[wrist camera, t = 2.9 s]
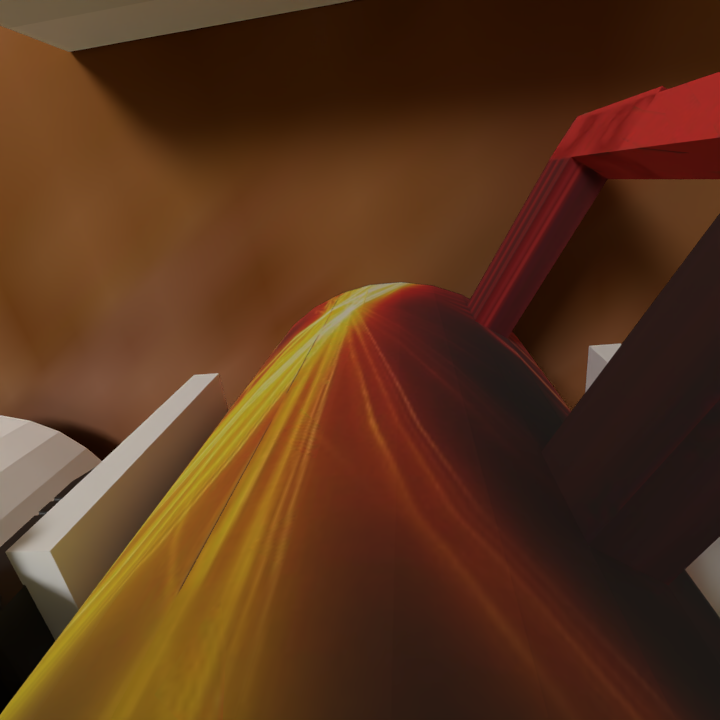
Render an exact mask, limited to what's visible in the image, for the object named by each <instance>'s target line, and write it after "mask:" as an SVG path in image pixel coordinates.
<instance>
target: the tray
mask: <svg viewBox="0 0 720 720" xmlns="http://www.w3.org/2000/svg"><path fill="white" fill-rule="evenodd" d="M348 1H354V0H0V26H3V27H5V28H8V29H10V30H13V31H16V32H18V33H21V34H24V35H26V36H29V37H32V38H34V39H37V40H39V41H42V42H45V43H47V44H50V45H53V46H55V47H58V48H60V49H63V50H66V51H68V52H71V51H77V50H82V49H88V48H93V47H99V46H104V45H110V44H115V43H121V42H126V41H132V40H137V39H143V38H149V37H154V36H160V35H165V34H171V33H176V32H182V31H187V30H193V29H198V28H204V27H210V26H215V25H221V24H226V23H232V22H237V21H243V20H248V19H254V18H259V17H265V16H271V15H276V14H282V13H287V12H293V11H298V10H304V9H309V8H315V7H320V6H326V5H331V4H337V3H343V2H348Z"/></svg>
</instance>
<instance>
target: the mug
mask: <svg viewBox="0 0 720 720" xmlns="http://www.w3.org/2000/svg"><path fill="white" fill-rule="evenodd" d="M607 179H720V72H717V73H714V74H711V75H708V76H705V77H702V78H699V79H697V80H694V81H691V82H688V83H685V84H682V85H679V86H676V87H673V88H670V89H666V88H665V87H663V86H661V87H658V88H655V89H653V90H650V91H647V92H644V93H641V94H639V95H636V96H633V97H630V98H627V99H625V100H622V101H619V102H616V103H613V104H611V105H608V106H605V107H602V108H599V109H597V110H594V111H591V112H588V113H585V114H583V115H580V116H577V117H576V119H575V121H573V123H572V125H571V126H570V128H569V129H568V131H567V133H566V134H565V136H564V137H563V139H562V140H561V142H560V144H559V145H558V147H557V148H556V150H555V151H554V153H553V155H552V156H551V158H550V159H549V162H548V163H547V165H546V167H545V169H544V170H543V172H542V174H541V176H540V177H539V179H538V181H537V183H536V185H535V186H534V188H533V190H532V192H531V193H530V195H529V197H528V199H527V200H526V202H525V204H524V206H523V207H522V209H521V211H520V213H519V214H518V216H517V218H516V220H515V221H514V223H513V225H512V227H511V229H510V230H509V232H508V234H507V236H506V237H505V239H504V241H503V243H502V244H501V246H500V248H499V250H498V251H497V253H496V255H495V257H494V258H493V260H492V262H491V264H490V265H489V267H488V269H487V271H486V272H485V274H484V276H483V278H482V280H481V281H480V283H479V285H478V287H477V288H476V290H475V292H474V294H473V295H472V297H471V299H469V298H467V297H465V296H463V295H461V294H458V293H455V292H451V291H448V290H445V289H442V288H439V287H435V286H432V285H423V284H413V283H404V282H398V283H387V284H376V285H368V286H365V287H362V288H358V289H355V290H351V291H348V292H344V293H341V294H339V295H337V296H335V297H333V298H332V299H330V300H328V301H326V302H324V303H322V304H320V305H318V306H316V307H315V308H314V309H312V310H311V311H310V312H309V313H308V314H306V315H305V316H304V317H303V318H302V319H300V320H299V321H298V322H297V323H296V324H294V325H293V327H292V328H291V329H290V330H289V332H288V333H287V334H286V336H285V337H284V338H283V339H282V341H281V342H280V343H279V345H278V346H277V347H276V348H275V350H274V351H273V352H272V354H271V355H270V356H269V358H268V359H267V360H266V362H265V363H264V364H263V366H262V367H261V368H260V370H259V371H258V372H257V374H256V375H255V376H254V378H253V379H252V380H251V382H250V383H249V384H248V386H247V387H246V388H245V390H244V391H243V392H242V394H241V395H240V396H239V398H238V399H237V400H236V402H235V403H234V404H233V406H232V407H231V408H230V410H229V411H228V412H227V414H226V415H225V416H224V418H223V419H222V420H221V422H220V423H219V424H218V426H217V427H216V428H215V430H214V431H213V432H212V434H211V435H210V436H209V438H208V439H207V440H206V442H205V443H204V444H203V446H202V447H201V448H200V450H199V451H198V452H197V454H196V455H195V456H194V458H193V459H192V460H191V461H190V463H189V464H188V465H187V467H186V468H185V469H184V471H183V472H182V473H181V475H180V476H179V477H178V479H177V480H176V481H175V483H174V484H173V485H172V487H171V488H170V489H169V491H168V492H167V493H166V495H165V496H164V497H163V499H162V500H161V501H160V503H159V504H158V505H157V507H156V508H155V509H154V511H153V512H152V513H151V515H150V516H149V517H148V519H147V520H146V521H145V523H144V524H143V525H142V527H141V528H140V529H139V531H138V532H137V533H136V535H135V536H134V537H133V539H132V540H131V541H130V543H129V544H128V545H127V547H126V548H125V549H124V551H123V552H122V553H121V555H120V556H119V557H118V559H117V560H116V561H115V563H114V564H113V565H112V567H111V568H110V569H109V571H108V572H107V573H106V575H105V576H104V577H103V578H102V580H101V581H100V582H99V584H98V585H97V586H96V588H95V589H94V590H93V592H92V593H91V594H90V596H89V597H88V598H87V600H86V601H85V602H84V604H83V605H82V606H81V608H80V609H79V610H78V612H77V613H76V614H75V616H74V617H73V618H72V620H71V621H70V622H69V624H68V625H67V626H66V628H65V629H64V630H63V632H62V633H61V634H60V636H59V637H58V638H57V640H56V641H55V642H54V644H53V645H52V646H51V648H50V649H49V650H48V652H47V653H46V654H45V656H44V657H43V658H42V660H41V661H40V662H39V664H38V665H37V666H36V668H35V669H34V670H33V672H32V673H31V674H30V676H29V677H28V678H27V680H26V681H25V682H24V684H23V685H22V686H21V688H20V689H19V690H18V691H17V693H16V694H15V695H14V697H13V698H12V699H11V701H10V702H9V703H8V705H7V706H6V707H5V709H4V710H3V711H2V713H1V714H0V720H720V617H719V616H718V614H717V613H716V612H715V610H714V609H713V607H712V606H711V605H710V603H709V602H708V600H707V599H706V598H705V596H704V595H703V594H702V592H701V591H700V589H699V588H698V587H697V585H696V584H695V582H694V581H693V580H692V578H691V577H690V576H689V574H688V573H687V571H686V570H685V569H686V568H687V567H688V566H689V565H690V564H691V563H692V562H693V561H694V560H695V559H697V558H698V557H699V556H700V555H701V554H702V553H703V552H704V551H705V550H706V549H707V548H708V547H709V546H710V545H711V544H712V543H713V542H715V541H716V540H717V539H718V538H719V537H720V214H719V215H718V216H717V218H716V219H715V220H714V222H713V223H712V224H711V226H710V227H709V228H708V230H707V231H706V232H705V234H704V235H703V236H702V238H701V239H700V240H699V242H698V243H697V244H696V246H695V247H694V248H693V250H692V251H691V252H690V254H689V255H688V256H687V258H686V259H685V260H684V262H683V263H682V264H681V266H680V267H679V268H678V270H677V271H676V272H675V274H674V275H673V276H672V278H671V279H670V280H669V282H668V283H667V284H666V286H665V287H664V288H663V290H662V291H661V292H660V294H659V295H658V296H657V298H656V299H655V300H654V302H653V303H652V304H651V306H650V307H649V308H648V310H647V311H646V313H645V314H644V315H643V317H642V318H641V319H640V321H639V322H638V323H637V325H636V326H635V327H634V329H633V330H632V331H631V333H630V334H629V335H628V337H627V338H626V339H625V341H624V342H623V343H622V345H621V346H620V347H619V349H618V350H617V351H616V353H615V354H614V355H613V357H612V358H611V359H610V361H609V362H608V363H607V365H606V366H605V367H604V369H603V370H602V371H601V373H600V374H599V375H598V377H597V378H596V379H595V381H594V382H593V383H592V385H591V386H590V387H589V389H588V390H587V391H586V393H585V394H584V395H583V397H582V398H581V399H580V401H579V402H578V403H577V405H576V406H575V407H574V409H573V410H572V411H570V409H569V408H568V406H567V405H566V404H565V402H564V401H563V399H562V398H561V397H560V395H559V394H558V393H557V391H556V390H555V388H554V387H553V386H552V384H551V383H550V381H549V380H548V379H547V377H546V376H545V375H544V373H543V372H542V370H541V369H540V368H539V366H538V365H537V363H536V362H535V361H534V359H533V358H532V357H531V355H530V354H529V352H528V351H527V350H526V348H525V347H524V346H523V344H522V343H521V342H520V340H519V339H518V338H517V336H516V335H515V334H514V332H513V331H512V330H513V329H514V327H515V326H516V324H517V322H518V321H519V319H520V318H521V316H522V314H523V313H524V311H525V310H526V308H527V307H528V305H529V303H530V302H531V300H532V299H533V297H534V295H535V294H536V292H537V291H538V289H539V287H540V286H541V284H542V283H543V281H544V279H545V278H546V276H547V275H548V273H549V272H550V270H551V268H552V267H553V265H554V264H555V262H556V260H557V259H558V257H559V256H560V254H561V252H562V251H563V249H564V248H565V246H566V244H567V243H568V241H569V240H570V238H571V237H572V235H573V233H574V232H575V230H576V229H577V227H578V225H579V224H580V222H581V221H582V219H583V217H584V216H585V214H586V213H587V211H588V210H589V208H590V206H591V205H592V203H593V202H594V200H595V198H596V197H597V195H598V194H599V192H600V190H601V189H602V187H603V186H604V184H605V182H606V181H607Z"/></svg>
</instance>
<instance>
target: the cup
mask: <svg viewBox="0 0 720 720" xmlns="http://www.w3.org/2000/svg"><path fill="white" fill-rule="evenodd" d="M101 462H102V461H101V460H100V459H99V458H98V457H97V456H95V455H94V454H93V453H92V452H91V451H90V450H88V449H87V448H86V447H84V446H83V445H81V444H79V443H78V442H76V441H74V440H73V439H71V438H69V437H68V436H66V435H64V434H63V433H61V432H60V431H57V430H54V429H51V428H49V427H46V426H43V425H40V424H38V423H35V422H32V421H29V420H23V419H18V418H12V417H7V416H0V547H1V546H2V545H3V544H4V543H5V542H6V541H7V540H8V539H9V538H11V537H12V536H13V535H14V534H15V533H16V532H17V531H18V530H19V529H20V528H22V527H23V526H24V525H25V524H26V523H27V522H28V521H29V520H30V519H31V518H32V517H34V516H35V515H39V511H40V510H41V509H42V508H43V507H45V506H46V505H47V504H48V503H49V502H50V501H54V497H55V496H57V495H58V494H59V493H60V492H61V491H62V490H63V489H64V488H65V487H66V486H68V485H69V484H70V483H71V482H72V481H73V480H75V479H77V478H78V477H80V476H82V475H83V474H85V473H87V472H88V471H90V470H91V469H93V468H95V467H96V466H97V465H99V464H100V463H101Z"/></svg>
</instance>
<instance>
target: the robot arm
mask: <svg viewBox="0 0 720 720" xmlns="http://www.w3.org/2000/svg"><path fill="white" fill-rule="evenodd" d="M621 345H622V344H607V345H593V346H589V352H588V365H587V378H586V390H585V393H586V391H587V390H588V389H589V387H590V386H591V385H592V383H593V382H594V381H595V379H596V378H597V377H598V375H599V374H600V373H601V371H602V370H603V369H604V367H605V366H606V365H607V363H608V362H609V361H610V359H611V358H612V357H613V355H614V354H615V353H616V351H617V350H618V349H619V347H620V346H621ZM227 412H228V407H227V403H226V400H225V396H224V392H223V388H222V384H221V380H220V376H219V373H215V374H202V375H193V376H192V377H191V378H190V379H189V380H188V381H187V382H186V383H185V384H184V385H183V386H182V387H181V388H180V389H179V390H177V391H176V392H175V393H174V394H173V395H172V396H171V397H170V398H169V399H168V400H167V401H166V402H165V403H164V404H163V405H161V406H160V407H159V408H158V409H157V410H156V411H155V412H154V413H153V414H152V415H151V416H150V417H149V418H148V419H147V420H145V421H144V422H143V423H142V424H141V425H140V426H139V427H138V428H137V429H136V430H135V431H134V432H133V433H132V434H131V435H129V436H128V437H127V438H126V439H125V440H124V441H123V442H122V443H121V444H120V445H119V446H118V447H117V448H116V449H115V450H113V451H112V452H111V453H110V454H109V455H108V456H107V457H106V458H105V459H104V460H103V461H102V462H101V463H100V464H99V465H97V466H96V467H95V468H93V469H91V470H90V471H88V472H87V473H85V474H83V475H82V476H80V477H78V478H77V479H75V480H73V481H72V482H71V483H70V484H69V485H68V486H66V487H65V488H64V489H63V490H62V491H61V492H60V493H59V494H58V495H57V496H55V497H54V501H50V502H49V503H48V504H47V505H46V506H45V507H43V508H42V509H41V510H40V511H39V515H35V516H34V517H32V518H31V519H30V520H29V521H28V522H27V523H26V524H25V525H24V526H23V527H22V528H20V529H19V530H18V531H17V532H16V533H15V534H14V535H13V536H12V537H11V538H9V539H8V540H7V541H6V542H5V543H4V544H3V545H2V546H1V547H0V714H1V713H2V711H3V710H4V709H5V707H6V706H7V705H8V703H9V702H10V701H11V699H12V698H13V697H14V695H15V694H16V693H17V691H18V690H19V689H20V688H21V686H22V685H23V684H24V682H25V681H26V680H27V678H28V677H29V676H30V674H31V673H32V672H33V670H34V669H35V668H36V666H37V665H38V664H39V662H40V661H41V660H42V658H43V657H44V656H45V654H46V653H47V652H48V650H49V649H50V648H51V646H52V645H53V644H54V642H55V641H56V640H57V638H58V637H59V636H60V634H61V633H62V632H63V630H64V629H65V628H66V626H67V625H68V624H69V622H70V621H71V620H72V618H73V617H74V616H75V614H76V613H77V612H78V610H79V609H80V608H81V606H82V605H83V604H84V602H85V601H86V600H87V598H88V597H89V596H90V594H91V593H92V592H93V590H94V589H95V588H96V586H97V585H98V584H99V582H100V581H101V580H102V578H103V577H104V576H105V575H106V573H107V572H108V571H109V569H110V568H111V567H112V565H113V564H114V563H115V561H116V560H117V559H118V557H119V556H120V555H121V553H122V552H123V551H124V549H125V548H126V547H127V545H128V544H129V543H130V541H131V540H132V539H133V537H134V536H135V535H136V533H137V532H138V531H139V529H140V528H141V527H142V525H143V524H144V523H145V521H146V520H147V519H148V517H149V516H150V515H151V513H152V512H153V511H154V509H155V508H156V507H157V505H158V504H159V503H160V501H161V500H162V499H163V497H164V496H165V495H166V493H167V492H168V491H169V489H170V488H171V487H172V485H173V484H174V483H175V481H176V480H177V479H178V477H179V476H180V475H181V473H182V472H183V471H184V469H185V468H186V467H187V465H188V464H189V463H190V461H191V460H192V459H193V458H194V456H195V455H196V454H197V452H198V451H199V450H200V448H201V447H202V446H203V444H204V443H205V442H206V440H207V439H208V438H209V436H210V435H211V434H212V432H213V431H214V430H215V428H216V427H217V426H218V424H219V423H220V422H221V420H222V419H223V418H224V416H225V415H226V414H227ZM685 570H686V571H687V573H688V574H689V576H690V577H691V578H692V580H693V581H694V582H695V584H696V585H697V587H698V588H699V589H700V591H701V592H702V594H703V595H704V596H705V598H706V599H707V600H708V602H709V603H710V605H711V606H712V607H713V609H714V610H715V612H716V613H717V614H718V616H719V617H720V537H719V538H718V539H717V540H716V541H715V542H713V543H712V544H711V545H710V546H709V547H708V548H707V549H706V550H705V551H704V552H703V553H702V554H701V555H700V556H699V557H698V558H697V559H695V560H694V561H693V562H692V563H691V564H690V565H689V566H688V567H687V568H686V569H685Z"/></svg>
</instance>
